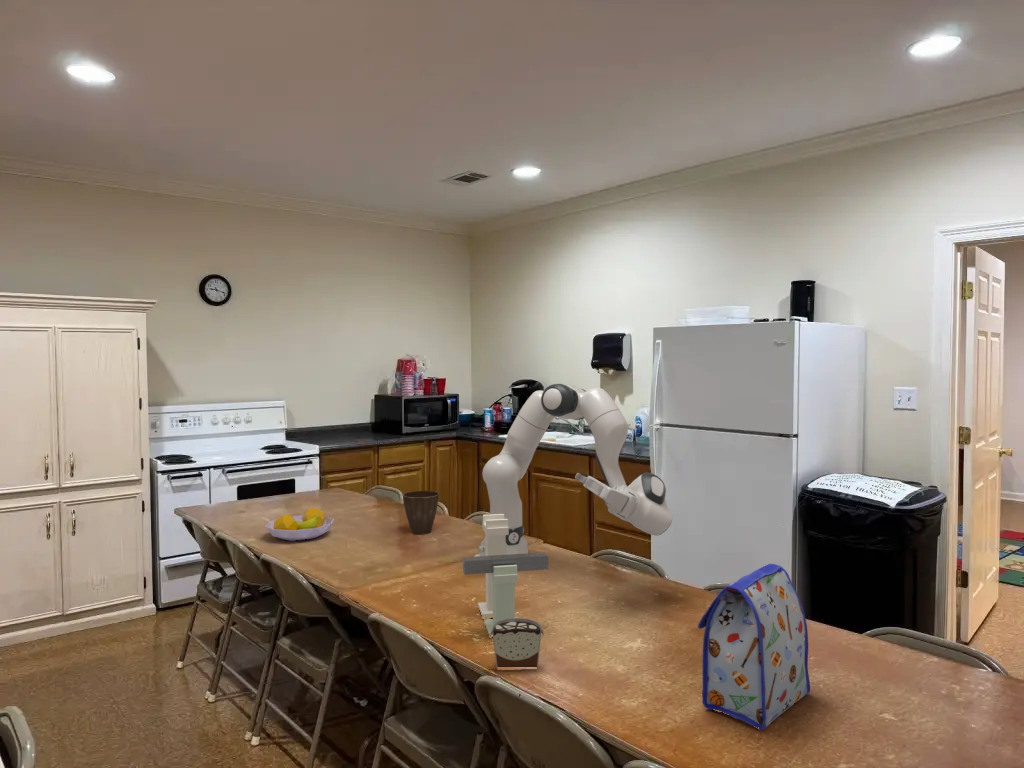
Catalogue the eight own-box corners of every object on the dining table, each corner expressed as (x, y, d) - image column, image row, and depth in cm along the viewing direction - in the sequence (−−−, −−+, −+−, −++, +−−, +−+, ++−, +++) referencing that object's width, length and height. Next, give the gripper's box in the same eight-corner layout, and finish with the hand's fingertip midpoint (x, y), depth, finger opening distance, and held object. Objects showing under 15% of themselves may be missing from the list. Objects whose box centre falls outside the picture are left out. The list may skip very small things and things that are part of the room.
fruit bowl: (262, 533, 283) (261, 506, 282) (328, 526, 294) (328, 500, 294) (269, 550, 257) (268, 520, 257) (341, 541, 269) (341, 513, 268)
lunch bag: (739, 669, 155) (739, 553, 154) (814, 693, 144) (815, 568, 143) (690, 707, 139) (690, 577, 138) (770, 737, 127) (771, 595, 126)
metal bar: (544, 565, 182) (544, 552, 182) (547, 569, 178) (547, 556, 178) (463, 570, 178) (462, 557, 178) (464, 574, 174) (464, 561, 174)
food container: (542, 658, 162) (541, 616, 162) (544, 669, 156) (543, 626, 155) (490, 659, 162) (489, 617, 161) (490, 671, 155) (489, 627, 155)
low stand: (517, 622, 184) (516, 556, 183) (524, 635, 175) (523, 566, 174) (484, 625, 182) (483, 558, 182) (489, 638, 173) (488, 568, 173)
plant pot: (400, 529, 287) (400, 491, 286) (435, 526, 291) (435, 489, 291) (406, 538, 273) (405, 498, 272) (442, 535, 277) (442, 496, 276)
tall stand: (508, 605, 197) (508, 512, 196) (514, 617, 188) (513, 520, 187) (478, 607, 195) (477, 514, 194) (482, 619, 186) (481, 521, 185)
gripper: (614, 484, 206) (576, 463, 204) (638, 498, 186) (596, 474, 184) (604, 503, 206) (566, 481, 204) (627, 519, 186) (585, 495, 184)
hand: (581, 478), depth 194 cm, fingers open, 8 cm apart
